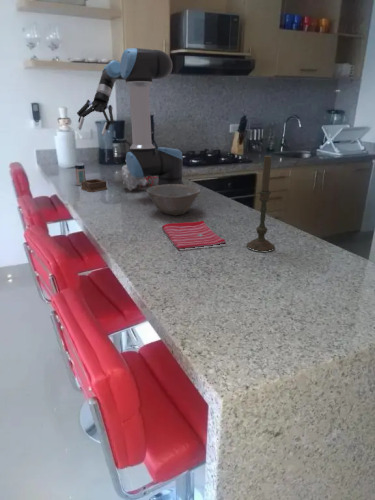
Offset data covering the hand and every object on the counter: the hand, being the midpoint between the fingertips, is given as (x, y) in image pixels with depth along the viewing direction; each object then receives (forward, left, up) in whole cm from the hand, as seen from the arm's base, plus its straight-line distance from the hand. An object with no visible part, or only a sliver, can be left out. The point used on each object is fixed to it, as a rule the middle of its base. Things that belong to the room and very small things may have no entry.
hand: (91, 131), depth 206 cm
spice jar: (+4, +6, -28) cm, 29 cm away
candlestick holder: (-122, +8, -28) cm, 125 cm away
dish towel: (-100, +18, -29) cm, 105 cm away
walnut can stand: (-10, +6, -28) cm, 31 cm away
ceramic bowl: (-72, +3, -28) cm, 77 cm away
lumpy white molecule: (-22, -15, -28) cm, 39 cm away
